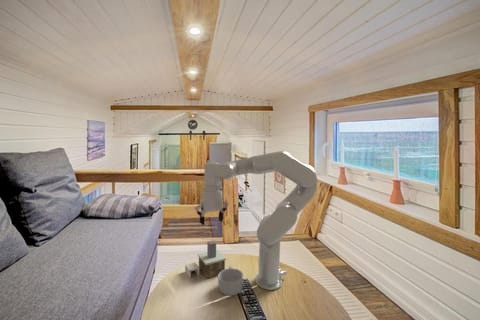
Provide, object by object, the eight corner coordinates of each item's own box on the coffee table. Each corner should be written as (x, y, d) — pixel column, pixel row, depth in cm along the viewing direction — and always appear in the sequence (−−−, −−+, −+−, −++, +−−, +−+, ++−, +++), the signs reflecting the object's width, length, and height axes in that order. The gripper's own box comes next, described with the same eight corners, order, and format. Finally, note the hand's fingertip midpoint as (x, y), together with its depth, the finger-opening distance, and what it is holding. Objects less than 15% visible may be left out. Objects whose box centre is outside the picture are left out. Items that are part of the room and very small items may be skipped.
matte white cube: (194, 271, 124) (194, 261, 124) (199, 277, 119) (199, 267, 118) (185, 274, 121) (185, 264, 121) (189, 280, 116) (189, 270, 116)
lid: (216, 251, 129) (216, 236, 128) (225, 259, 120) (226, 244, 119) (197, 255, 123) (197, 240, 123) (206, 265, 114) (206, 249, 114)
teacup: (240, 301, 102) (240, 282, 101) (214, 298, 104) (215, 280, 103) (245, 281, 116) (245, 265, 115) (222, 279, 117) (222, 263, 117)
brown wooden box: (216, 266, 129) (216, 251, 128) (224, 275, 121) (224, 259, 120) (198, 271, 124) (198, 256, 123) (206, 280, 116) (206, 264, 115)
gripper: (224, 184, 126) (223, 217, 127) (192, 187, 117) (191, 222, 118) (231, 187, 119) (230, 222, 121) (198, 191, 110) (197, 228, 112)
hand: (211, 222), depth 120 cm, fingers open, 9 cm apart
